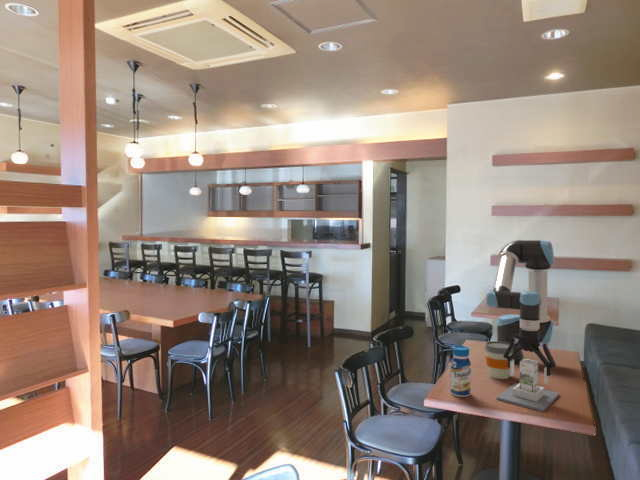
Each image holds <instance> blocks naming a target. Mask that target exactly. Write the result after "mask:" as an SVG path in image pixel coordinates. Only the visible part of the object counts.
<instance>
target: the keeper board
mask: <svg viewBox="0 0 640 480" xmlns="http://www.w3.org/2000/svg"><path fill="white" fill-rule="evenodd" d="M537 390H538V391H537V392H536V393H533V392H529V391H525V390H521V389H520V382H519V383H518V382H514V383H513V384H512V385H510V386H508V388H506V389H505V390H504V391H503V392H501V393H500V394H499V395H497V396H496V400H497V401H500V402H504V403H508V404H513V405H515V406H520V407H523V408H527V409H531V410H535V411H538V412H543V413H544V412H545V411H546V410H547V409H548V408H549V407H550V406H551V405H552V403H554V402H555V400H557V398H558V397H559V396H560V392H557V391H552V390H548V389H545V387H544V386H540V385H537Z"/></svg>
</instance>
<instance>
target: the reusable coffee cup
mask: <svg viewBox="0 0 640 480" xmlns="http://www.w3.org/2000/svg"><path fill="white" fill-rule="evenodd" d="M509 346H510V344H509V343H506V342H499V341H497V340H496V341H495V340H493V341H492V340H491V341H486V342H485V346H484V347H485V348H484V350H485V361H486V363H485V364H486V365H487V371H488V376H489V377H490V378H493V379H498V380H506V379H509V378H510V368H509V367H508V360H507V359H506V358H504V357H503V356H504V354H505V352H506V351H507V349H508V347H509ZM512 353H513V349H512V350H511V352H510V354H509V356H511V355H512ZM512 360H513V359H512Z"/></svg>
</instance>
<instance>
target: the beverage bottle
mask: <svg viewBox="0 0 640 480" xmlns="http://www.w3.org/2000/svg"><path fill="white" fill-rule="evenodd" d="M452 355H453V356H452V358H451V360H450V365H451V366H450V367H449V368H450V369H449V370H450V394H452V395H453V396H456V397H459V398H466V397H469V396H470V395H471V375H472V369H471V366H472V364H471V361H470V359H469V356H470V348H469V347H467V346H465V345H454V346H453V347H452Z"/></svg>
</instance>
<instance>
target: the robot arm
mask: <svg viewBox="0 0 640 480" xmlns="http://www.w3.org/2000/svg"><path fill="white" fill-rule="evenodd" d="M497 262H498V266H497V271H496V275H495V280H494V284H493V290H492V289H491V290H487V292H486V300H485V301H486V305H487V307H490V308H495V309H509V310H510V309H511V310H519V314H514V313H513V314H504V315H500V316H499V317H498V318H497V323H496V329H497V330H496V332H497V333H496V341H499V342H506V343H509V344H510V346H509V347H508V349H507V351H506V352H505V354H504V356H503V357H504V358H506V359H507V360H508V367H509V368H510V373H509V377H513V376H515V363H520V361H521V360H522V359H525V355H524V352H530V353H534V354H535V355H537V357H538V358H539V360H540V361H541V362H542V363H543V365H544V366H545V367H544V368H543V384H544V385H547V384H548V383H549V377H550V376H551V375H552V369H554V368H555V367H556V366H557V364H556V362H555V360H554V358H553V355H552V353H551V351H550V349H549V343H550V342H551V339H552V334H553V329H554V321H552V320H551V317H550V316H549V315H548V271H549V270H551V268H552V265H555V256H554V247H553V244H552V242H551V241H550V240H543V239H540V240H536V239H535V240H531V239H530V240H527V239H526V240H521V239H519V240H513V241H511V242H508V243H507V244H506V245H504V247H502V248H501V250H500V251H499V253H498V257H497ZM518 264H525V265H524V267H525V268H526V269H527V270H528V290H526V291H525V290H524V291H521V292H520V291H512V286H513V284H514V283H513V282H514V275H515V269H516V266H518ZM539 347H541V348H542V349H543V352H544V354H545V355H544V354H543V352H542V350H541V349H540V348H539ZM512 349H513V353H512V355H511V356H509V354H510V352H511V350H512ZM523 351H524V352H523ZM512 359H513V360H512Z"/></svg>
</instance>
